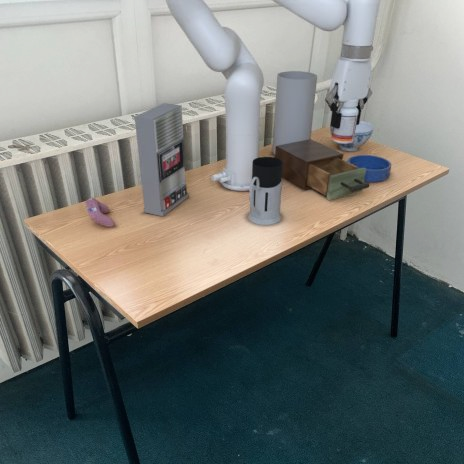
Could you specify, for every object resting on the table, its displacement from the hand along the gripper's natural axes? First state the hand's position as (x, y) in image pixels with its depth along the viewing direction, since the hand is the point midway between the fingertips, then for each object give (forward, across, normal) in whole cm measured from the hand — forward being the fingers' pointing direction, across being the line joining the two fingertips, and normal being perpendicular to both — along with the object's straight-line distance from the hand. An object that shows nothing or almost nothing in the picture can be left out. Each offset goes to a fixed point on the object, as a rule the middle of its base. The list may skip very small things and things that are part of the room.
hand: (344, 124), depth 133 cm
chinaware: (+19, -28, -25) cm, 42 cm away
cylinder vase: (+19, -6, -30) cm, 36 cm away
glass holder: (+19, +31, +6) cm, 37 cm away
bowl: (+19, -16, -3) cm, 25 cm away
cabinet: (+19, +2, -12) cm, 22 cm away
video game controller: (+19, +67, -15) cm, 71 cm away
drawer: (+18, +2, +2) cm, 18 cm away
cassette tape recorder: (+19, +48, -15) cm, 54 cm away
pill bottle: (+5, 0, 0) cm, 5 cm away
